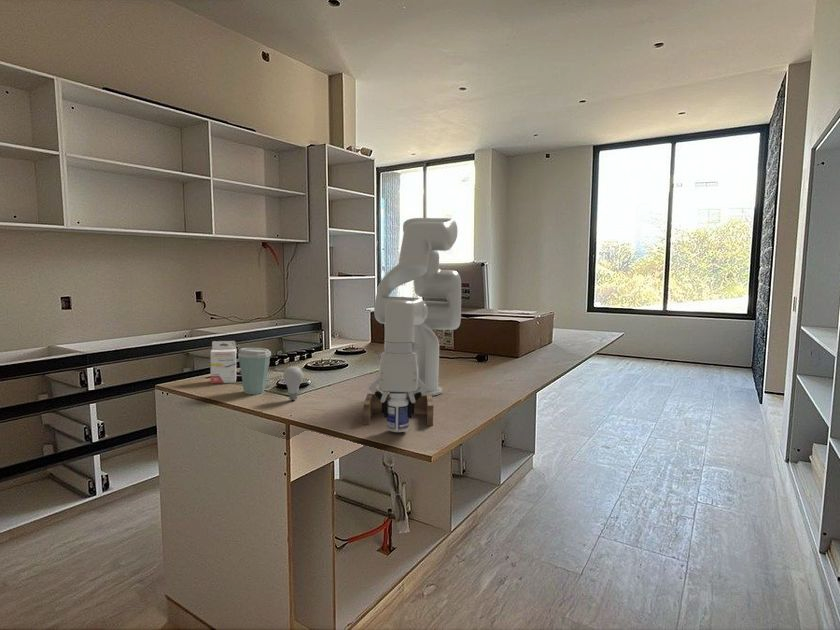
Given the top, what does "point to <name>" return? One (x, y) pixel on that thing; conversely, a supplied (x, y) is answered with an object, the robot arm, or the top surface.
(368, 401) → the open wooden frame
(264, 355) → the disposable coffee cup
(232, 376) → the ink cartridge box
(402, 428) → the pill bottle
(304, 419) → the top surface
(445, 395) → the top surface
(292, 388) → the lightbulb
